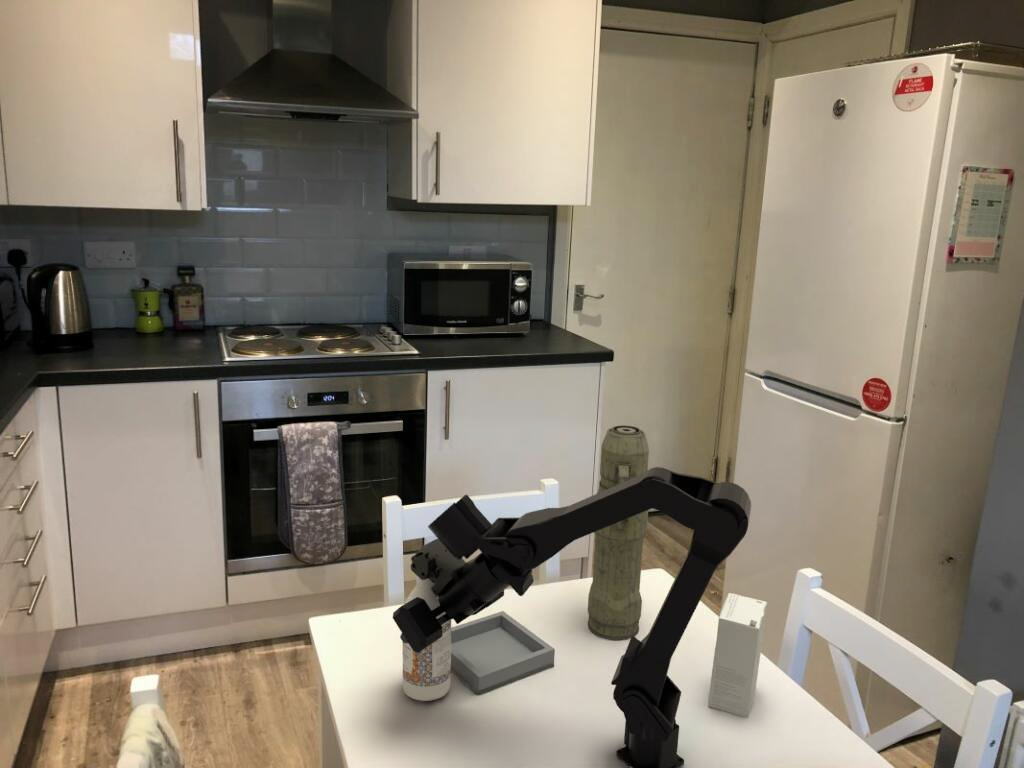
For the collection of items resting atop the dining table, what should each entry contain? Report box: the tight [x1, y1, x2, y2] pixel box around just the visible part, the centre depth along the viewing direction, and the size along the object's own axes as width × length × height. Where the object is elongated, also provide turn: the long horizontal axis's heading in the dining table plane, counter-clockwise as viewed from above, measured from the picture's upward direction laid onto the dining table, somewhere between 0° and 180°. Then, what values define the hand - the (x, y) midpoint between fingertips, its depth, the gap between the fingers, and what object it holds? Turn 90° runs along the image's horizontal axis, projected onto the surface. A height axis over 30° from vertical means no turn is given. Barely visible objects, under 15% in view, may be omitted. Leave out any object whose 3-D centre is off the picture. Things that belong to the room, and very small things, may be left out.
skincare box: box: [707, 592, 768, 718], centre depth 122 cm, size 8×6×15 cm
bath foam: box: [401, 574, 452, 702], centre depth 120 cm, size 7×7×20 cm
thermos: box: [587, 424, 650, 642], centre depth 138 cm, size 9×12×35 cm
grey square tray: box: [451, 610, 556, 696], centre depth 131 cm, size 14×14×3 cm
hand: (419, 628), depth 121 cm, fingers closed on bath foam, 7 cm apart
